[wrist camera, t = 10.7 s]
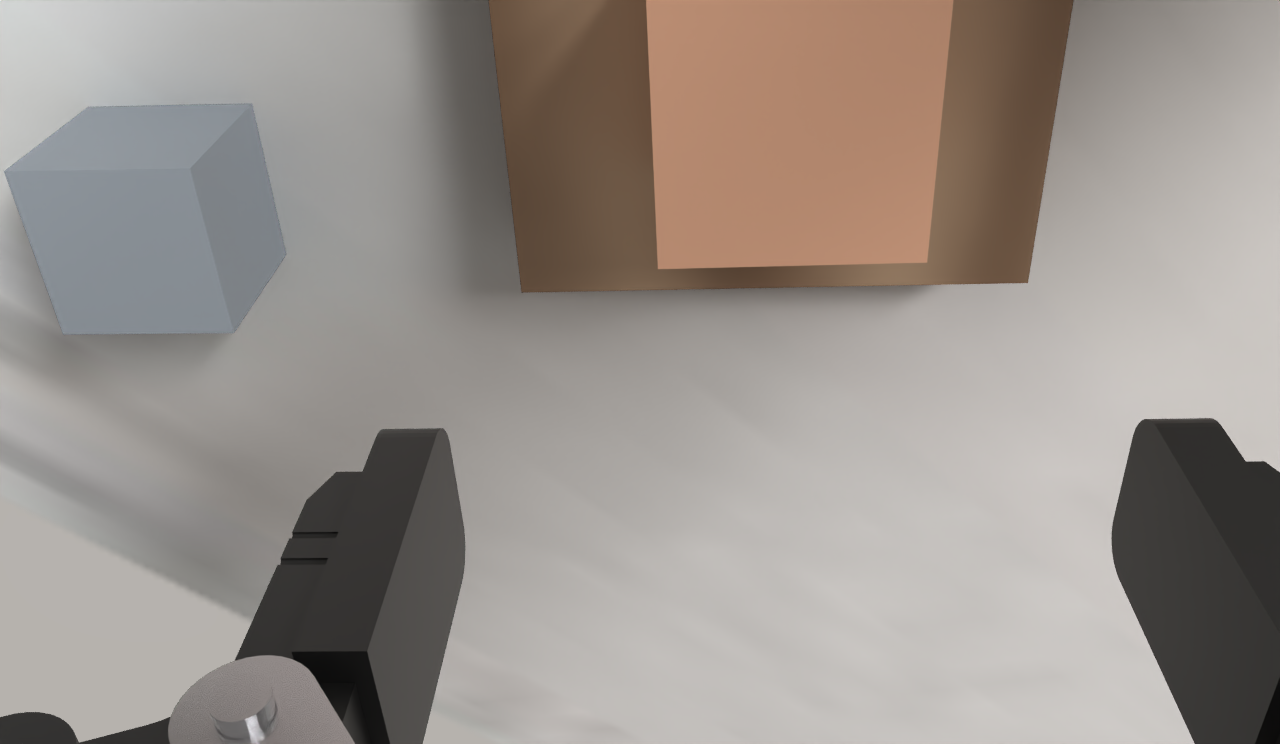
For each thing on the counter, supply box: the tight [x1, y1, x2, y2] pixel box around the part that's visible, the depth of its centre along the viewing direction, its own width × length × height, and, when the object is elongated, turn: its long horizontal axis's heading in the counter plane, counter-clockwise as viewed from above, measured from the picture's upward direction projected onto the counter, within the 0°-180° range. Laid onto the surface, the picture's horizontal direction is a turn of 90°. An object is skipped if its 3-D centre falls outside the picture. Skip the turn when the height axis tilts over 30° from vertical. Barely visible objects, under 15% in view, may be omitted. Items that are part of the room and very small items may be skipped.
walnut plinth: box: [489, 0, 1073, 292], centre depth 27 cm, size 13×12×3 cm
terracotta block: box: [646, 0, 953, 269], centre depth 24 cm, size 6×6×5 cm
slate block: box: [4, 104, 286, 335], centre depth 30 cm, size 4×4×4 cm
